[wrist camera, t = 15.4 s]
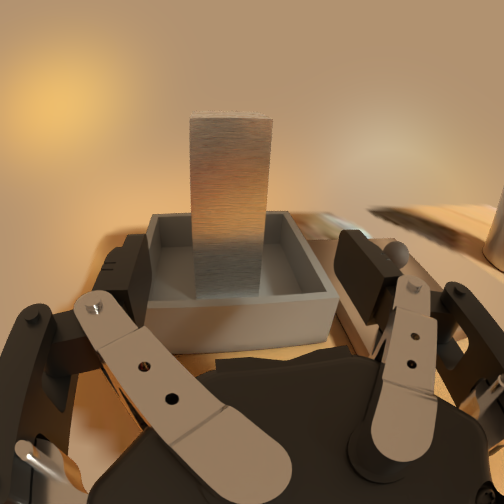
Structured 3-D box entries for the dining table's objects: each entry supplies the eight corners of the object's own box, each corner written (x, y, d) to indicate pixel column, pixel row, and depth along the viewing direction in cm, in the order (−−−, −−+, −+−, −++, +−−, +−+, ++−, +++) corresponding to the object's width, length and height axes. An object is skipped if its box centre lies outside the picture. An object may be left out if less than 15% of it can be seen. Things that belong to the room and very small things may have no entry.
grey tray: (283, 248, 33) (288, 211, 31) (326, 341, 22) (339, 297, 19) (156, 252, 31) (152, 214, 29) (138, 354, 20) (124, 308, 17)
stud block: (391, 248, 35) (402, 208, 32) (466, 337, 21) (493, 290, 18) (303, 252, 33) (310, 205, 30) (363, 367, 19) (389, 310, 17)
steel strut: (249, 265, 28) (258, 112, 21) (258, 299, 24) (272, 119, 17) (196, 267, 28) (192, 111, 20) (196, 302, 23) (189, 118, 16)
